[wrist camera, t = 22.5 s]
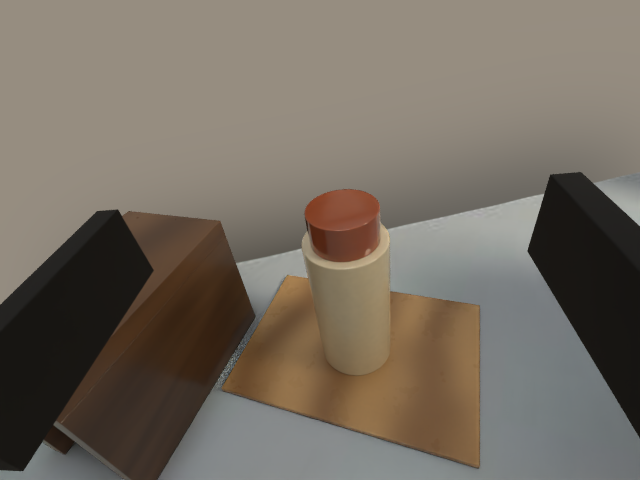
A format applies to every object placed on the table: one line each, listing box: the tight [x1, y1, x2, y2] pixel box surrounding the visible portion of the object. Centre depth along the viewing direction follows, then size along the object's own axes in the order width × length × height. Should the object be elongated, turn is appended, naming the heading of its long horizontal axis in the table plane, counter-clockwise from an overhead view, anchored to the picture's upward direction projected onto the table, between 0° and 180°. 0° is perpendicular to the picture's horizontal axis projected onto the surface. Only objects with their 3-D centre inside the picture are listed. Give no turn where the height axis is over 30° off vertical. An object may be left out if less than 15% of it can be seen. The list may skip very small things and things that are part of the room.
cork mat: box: [221, 275, 480, 468], centre depth 31 cm, size 20×14×1 cm
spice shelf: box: [42, 211, 255, 480], centre depth 28 cm, size 10×16×12 cm, turn 161°
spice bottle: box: [302, 189, 391, 376], centre depth 26 cm, size 6×6×14 cm
